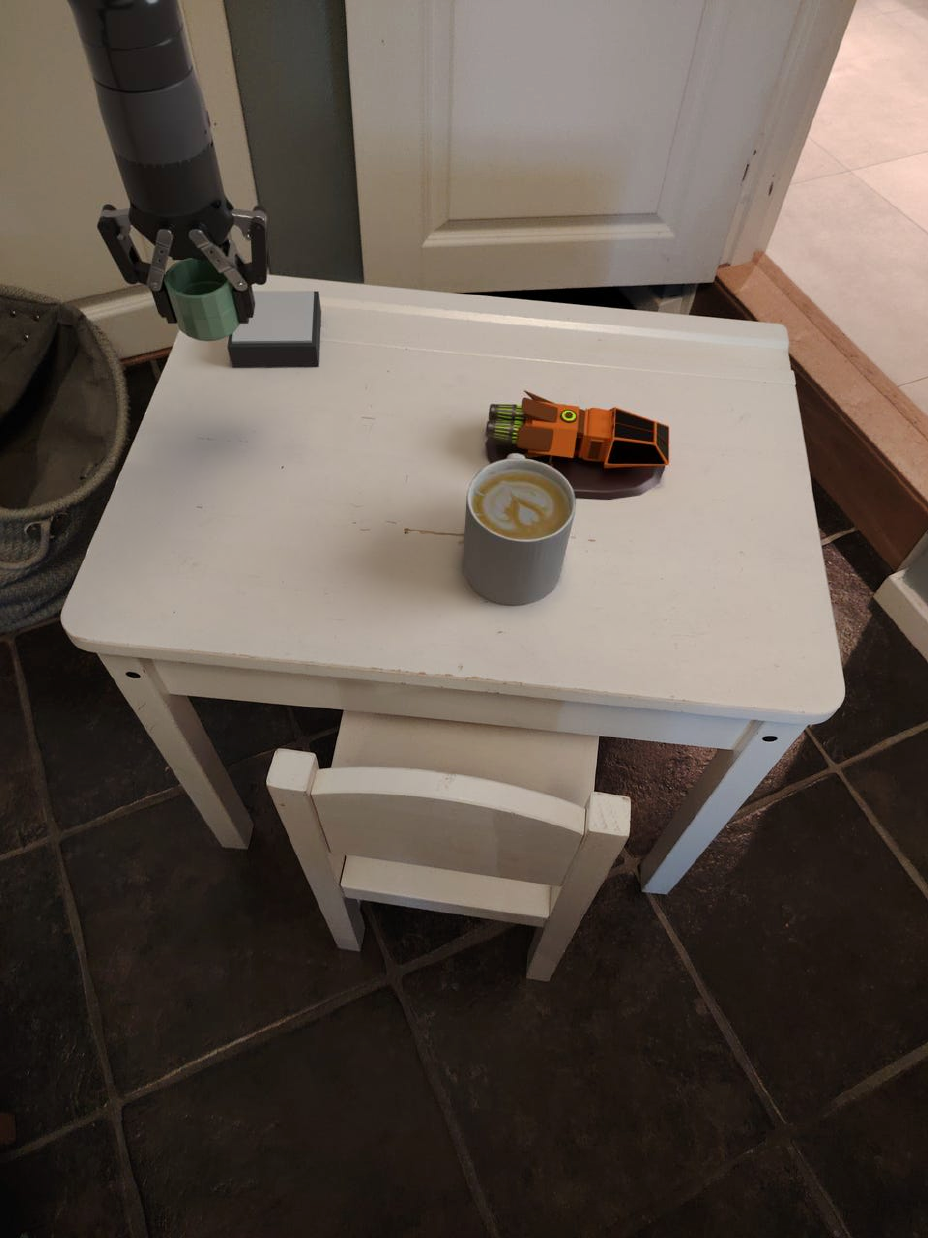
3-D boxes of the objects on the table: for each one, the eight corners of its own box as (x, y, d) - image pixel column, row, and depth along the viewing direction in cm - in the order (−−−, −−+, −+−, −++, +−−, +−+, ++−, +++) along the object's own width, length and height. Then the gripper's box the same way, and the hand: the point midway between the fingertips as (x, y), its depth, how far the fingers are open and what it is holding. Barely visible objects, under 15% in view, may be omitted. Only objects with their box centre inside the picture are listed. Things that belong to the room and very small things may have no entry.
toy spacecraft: (665, 510, 88) (681, 467, 83) (478, 485, 89) (481, 441, 84) (665, 426, 95) (680, 382, 90) (491, 404, 96) (496, 359, 90)
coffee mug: (553, 614, 81) (569, 551, 72) (453, 595, 81) (456, 530, 73) (571, 510, 88) (587, 441, 79) (478, 493, 89) (484, 424, 80)
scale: (232, 367, 97) (226, 343, 95) (239, 312, 103) (234, 288, 100) (318, 366, 98) (315, 343, 95) (321, 312, 103) (318, 288, 101)
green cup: (174, 344, 76) (159, 297, 72) (183, 302, 79) (169, 255, 75) (239, 344, 77) (228, 297, 72) (246, 302, 80) (235, 255, 76)
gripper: (52, 159, 61) (124, 345, 75) (250, 160, 62) (285, 345, 76) (73, 106, 65) (138, 292, 79) (260, 108, 66) (291, 292, 80)
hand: (210, 317), depth 78 cm, fingers closed on green cup, 6 cm apart
